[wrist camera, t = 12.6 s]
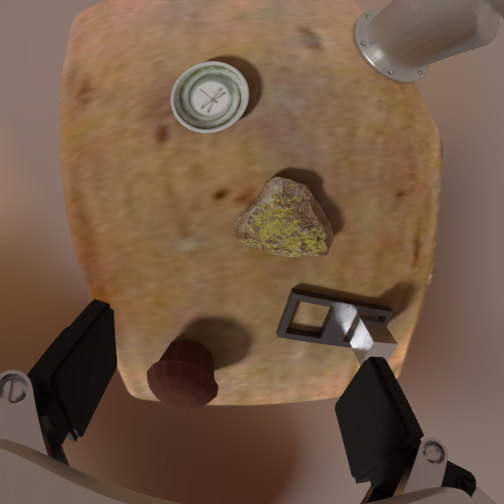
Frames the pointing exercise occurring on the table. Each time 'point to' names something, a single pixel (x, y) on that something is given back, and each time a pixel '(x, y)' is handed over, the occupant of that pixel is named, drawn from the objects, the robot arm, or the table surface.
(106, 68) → the table surface
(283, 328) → the dark grey slotted tray
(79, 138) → the table surface
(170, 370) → the muffin
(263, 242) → the rock
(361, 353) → the silver rectangular block
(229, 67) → the saucer
